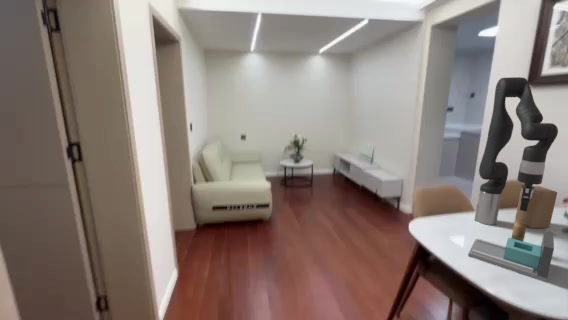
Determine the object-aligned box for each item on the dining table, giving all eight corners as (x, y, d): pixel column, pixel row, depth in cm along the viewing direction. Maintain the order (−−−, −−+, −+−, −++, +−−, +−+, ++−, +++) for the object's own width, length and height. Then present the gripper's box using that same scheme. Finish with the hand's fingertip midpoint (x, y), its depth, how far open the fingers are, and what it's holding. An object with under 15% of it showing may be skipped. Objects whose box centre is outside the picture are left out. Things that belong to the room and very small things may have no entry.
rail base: (468, 256, 111) (472, 227, 108) (475, 241, 122) (479, 215, 119) (546, 282, 94) (554, 248, 91) (546, 262, 105) (553, 232, 102)
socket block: (503, 260, 105) (505, 246, 104) (505, 250, 112) (508, 237, 110) (537, 270, 98) (540, 256, 97) (537, 259, 105) (540, 246, 103)
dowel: (509, 248, 116) (514, 222, 113) (510, 245, 118) (515, 219, 116) (521, 252, 113) (526, 224, 110) (521, 248, 116) (527, 221, 113)
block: (530, 229, 133) (538, 192, 128) (513, 220, 143) (520, 185, 138) (550, 228, 133) (558, 191, 128) (532, 220, 143) (539, 185, 138)
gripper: (543, 176, 100) (535, 215, 104) (543, 169, 110) (536, 205, 114) (517, 173, 105) (510, 210, 109) (520, 166, 115) (513, 201, 119)
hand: (523, 207), depth 111 cm, fingers open, 8 cm apart
